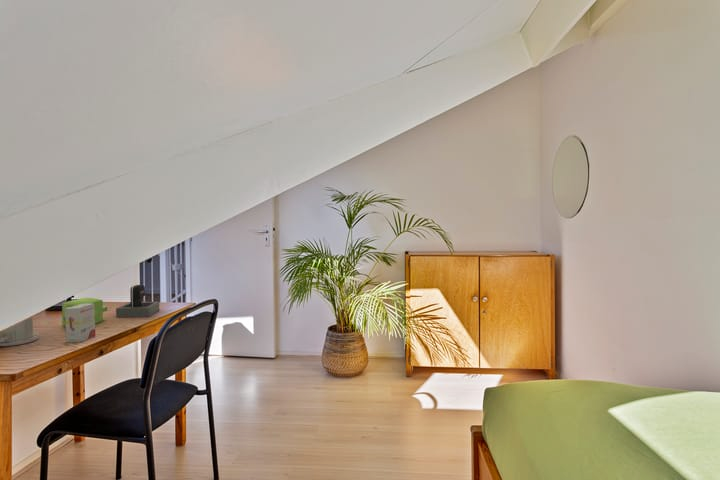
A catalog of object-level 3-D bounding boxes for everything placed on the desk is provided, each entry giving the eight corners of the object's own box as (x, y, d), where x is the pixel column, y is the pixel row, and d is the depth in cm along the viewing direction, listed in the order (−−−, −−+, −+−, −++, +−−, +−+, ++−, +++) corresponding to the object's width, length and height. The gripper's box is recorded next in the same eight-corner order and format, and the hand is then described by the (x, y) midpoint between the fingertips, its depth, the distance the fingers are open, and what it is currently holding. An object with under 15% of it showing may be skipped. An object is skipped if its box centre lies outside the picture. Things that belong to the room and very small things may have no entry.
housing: (148, 317, 173) (148, 307, 173) (116, 317, 171) (116, 308, 171) (159, 310, 186) (159, 301, 186) (129, 310, 184) (129, 302, 184)
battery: (139, 312, 175) (139, 286, 175) (130, 312, 175) (129, 286, 174) (146, 309, 182) (146, 284, 182) (137, 309, 182) (137, 284, 181)
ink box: (82, 335, 146) (81, 302, 145) (96, 335, 146) (95, 303, 145) (65, 342, 137) (64, 308, 137) (79, 342, 137) (78, 308, 137)
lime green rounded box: (72, 333, 150) (72, 307, 150) (51, 329, 153) (50, 305, 152) (112, 320, 168) (112, 297, 167) (92, 317, 170) (92, 295, 169)
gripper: (112, 223, 172) (112, 263, 172) (155, 223, 174) (155, 263, 175) (119, 223, 179) (120, 261, 180) (161, 223, 182) (161, 261, 182)
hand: (137, 262), depth 177 cm, fingers open, 9 cm apart
